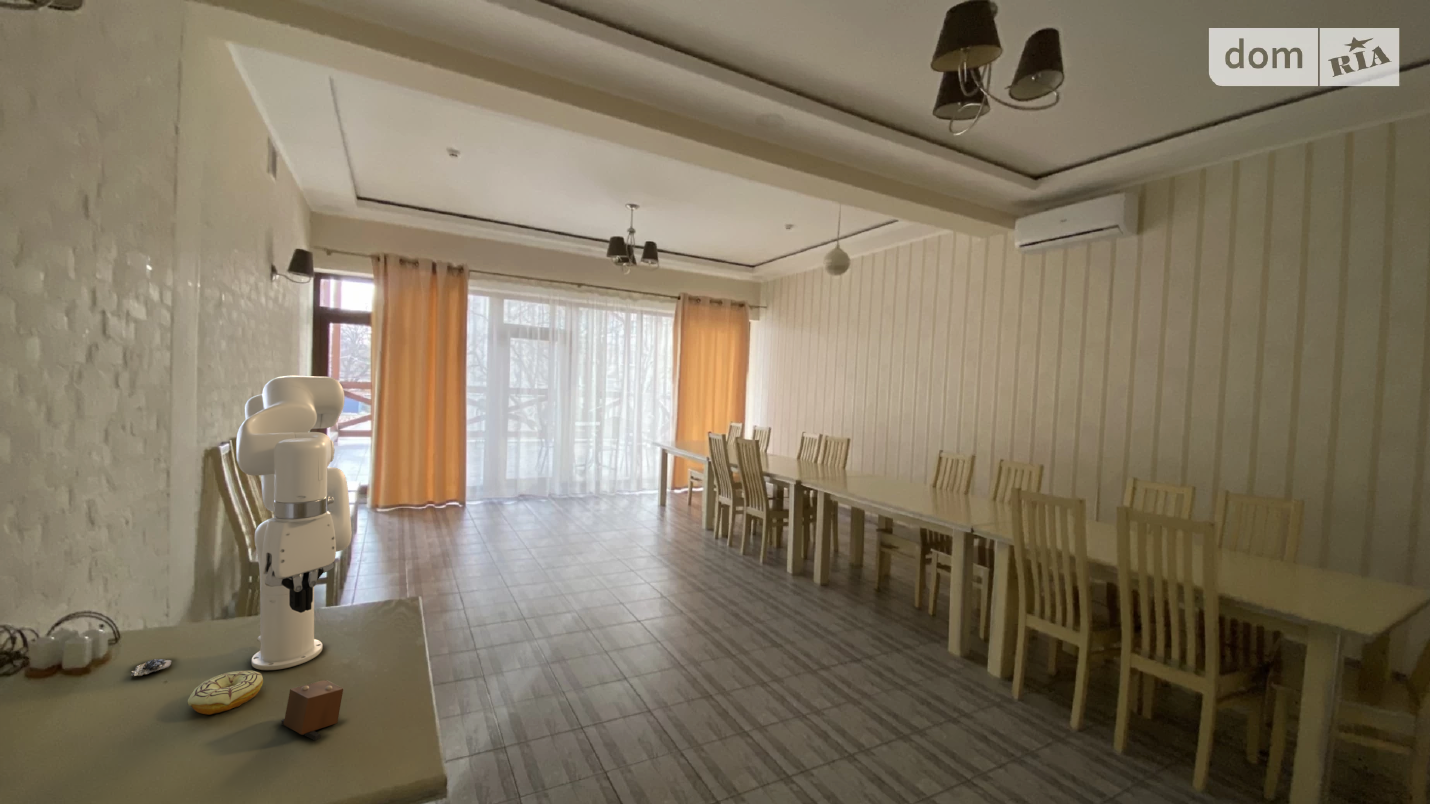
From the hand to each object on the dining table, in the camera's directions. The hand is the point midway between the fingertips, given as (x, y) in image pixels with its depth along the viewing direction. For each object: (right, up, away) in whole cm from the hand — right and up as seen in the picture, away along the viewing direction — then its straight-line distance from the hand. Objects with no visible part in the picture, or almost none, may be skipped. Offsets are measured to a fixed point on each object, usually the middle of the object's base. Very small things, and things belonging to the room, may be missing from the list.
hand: (301, 609), depth 101 cm
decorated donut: (-20, -21, +8) cm, 30 cm away
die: (0, -17, -1) cm, 17 cm away
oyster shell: (-45, -19, +18) cm, 52 cm away
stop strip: (0, -21, -1) cm, 21 cm away
